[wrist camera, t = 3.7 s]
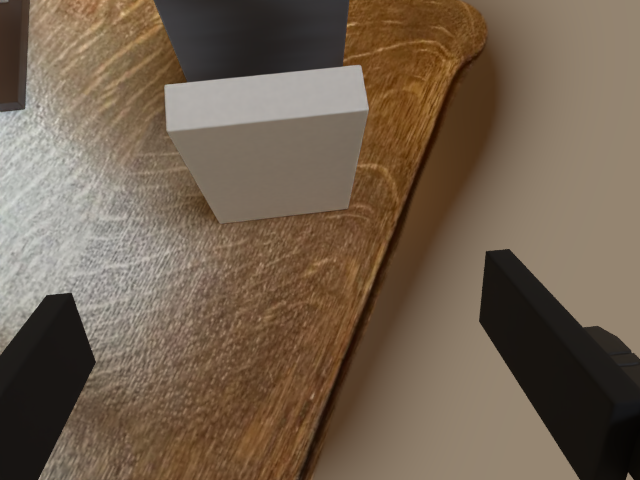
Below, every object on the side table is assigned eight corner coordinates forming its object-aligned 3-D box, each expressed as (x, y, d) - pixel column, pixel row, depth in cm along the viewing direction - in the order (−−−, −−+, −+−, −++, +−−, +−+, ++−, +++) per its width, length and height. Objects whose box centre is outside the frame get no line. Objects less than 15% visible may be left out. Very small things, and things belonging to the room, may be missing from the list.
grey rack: (332, 27, 38) (344, -181, 24) (351, 141, 36) (377, -19, 21) (192, 41, 38) (120, -164, 24) (200, 157, 35) (125, 5, 21)
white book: (343, 177, 35) (361, 63, 22) (348, 209, 34) (369, 109, 22) (217, 192, 34) (163, 84, 22) (219, 224, 34) (165, 131, 21)
